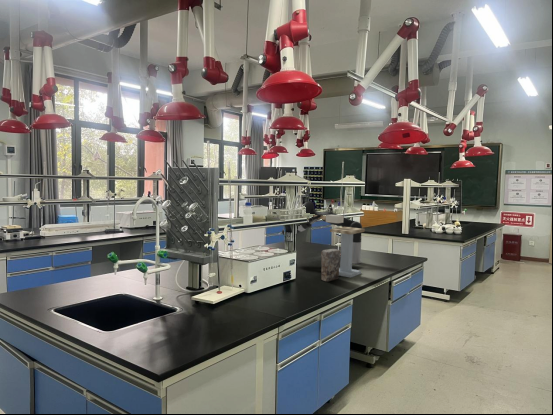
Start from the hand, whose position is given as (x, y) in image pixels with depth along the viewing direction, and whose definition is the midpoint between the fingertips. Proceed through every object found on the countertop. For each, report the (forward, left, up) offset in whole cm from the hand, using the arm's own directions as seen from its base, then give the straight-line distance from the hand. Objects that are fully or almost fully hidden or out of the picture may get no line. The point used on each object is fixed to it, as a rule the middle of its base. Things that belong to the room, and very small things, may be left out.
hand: (321, 215), depth 283 cm
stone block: (+32, 0, -40) cm, 51 cm away
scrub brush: (+4, +3, -4) cm, 6 cm away
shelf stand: (+16, +16, -40) cm, 46 cm away
